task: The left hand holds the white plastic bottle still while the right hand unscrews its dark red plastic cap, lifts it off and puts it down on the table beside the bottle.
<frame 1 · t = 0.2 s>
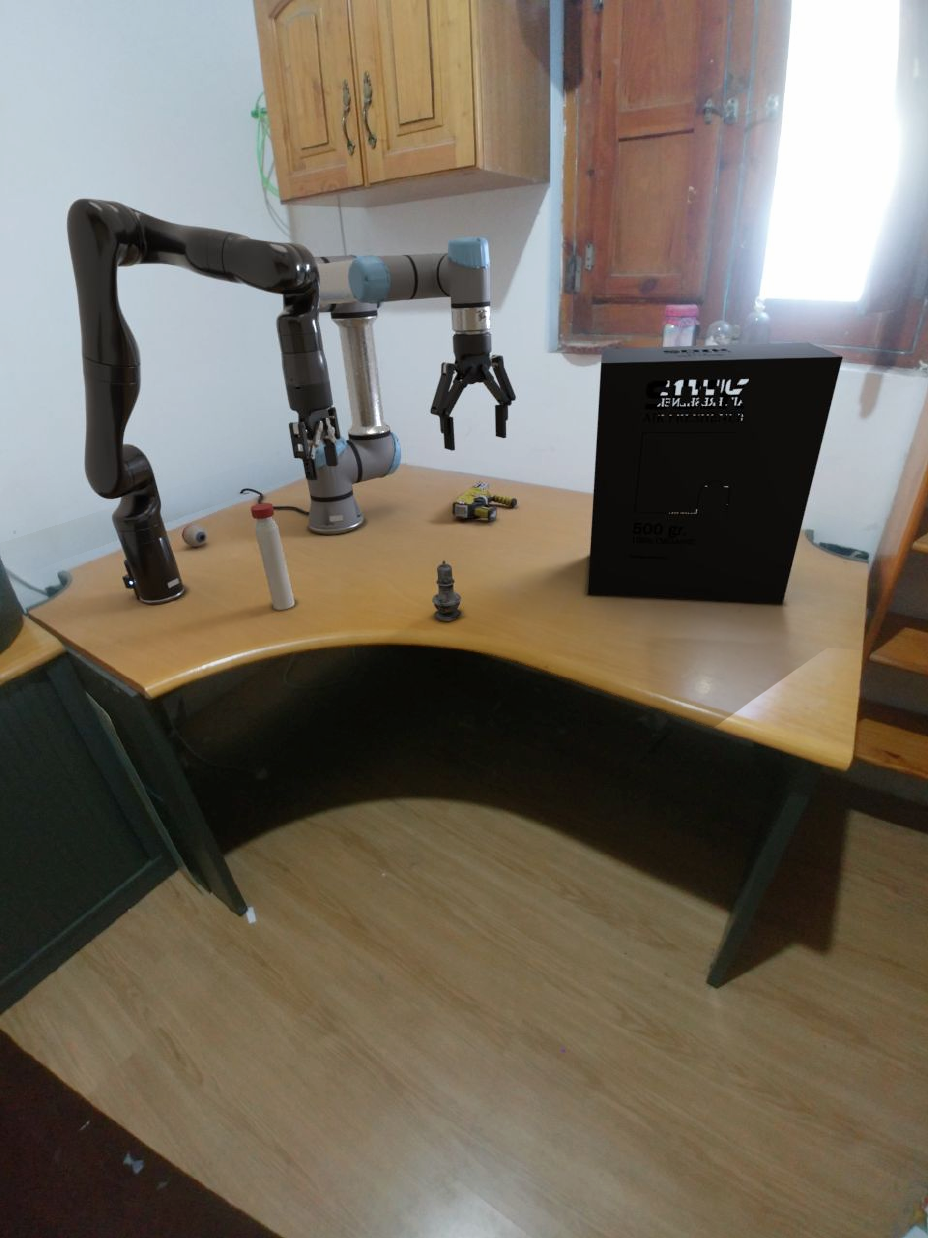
left hand: (322, 472, 111), 29 cm above the table, tool pointing down, fingers open, 8 cm apart
right hand: (476, 443, 127), 29 cm above the table, tool pointing down, fingers open, 13 cm apart
cap: (261, 507, 118), point 22 cm above the table, screwed on, not yet turned
cardboard box: (677, 578, 131), on the table
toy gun: (489, 508, 175), on the table
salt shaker: (447, 615, 122), on the table
bottle: (284, 605, 129), on the table
eyeball: (198, 546, 161), on the table
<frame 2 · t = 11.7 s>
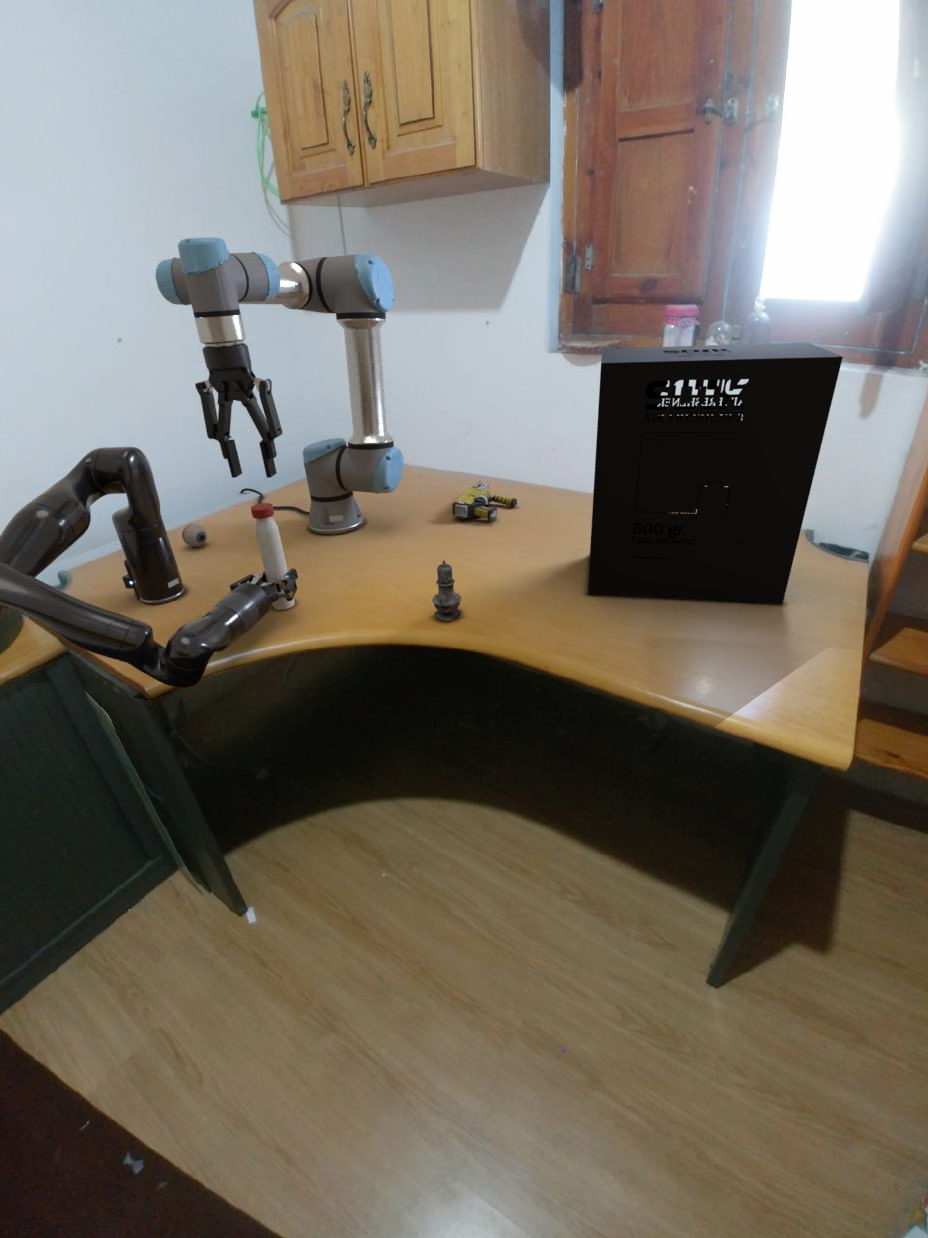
left hand: (284, 571, 128), 7 cm above the table, tool horizontal, fingers closed on bottle, 4 cm apart
right hand: (254, 475, 115), 28 cm above the table, tool pointing down, fingers open, 6 cm apart
bottle: (284, 605, 129), on the table, touching left hand
everything else where it was.
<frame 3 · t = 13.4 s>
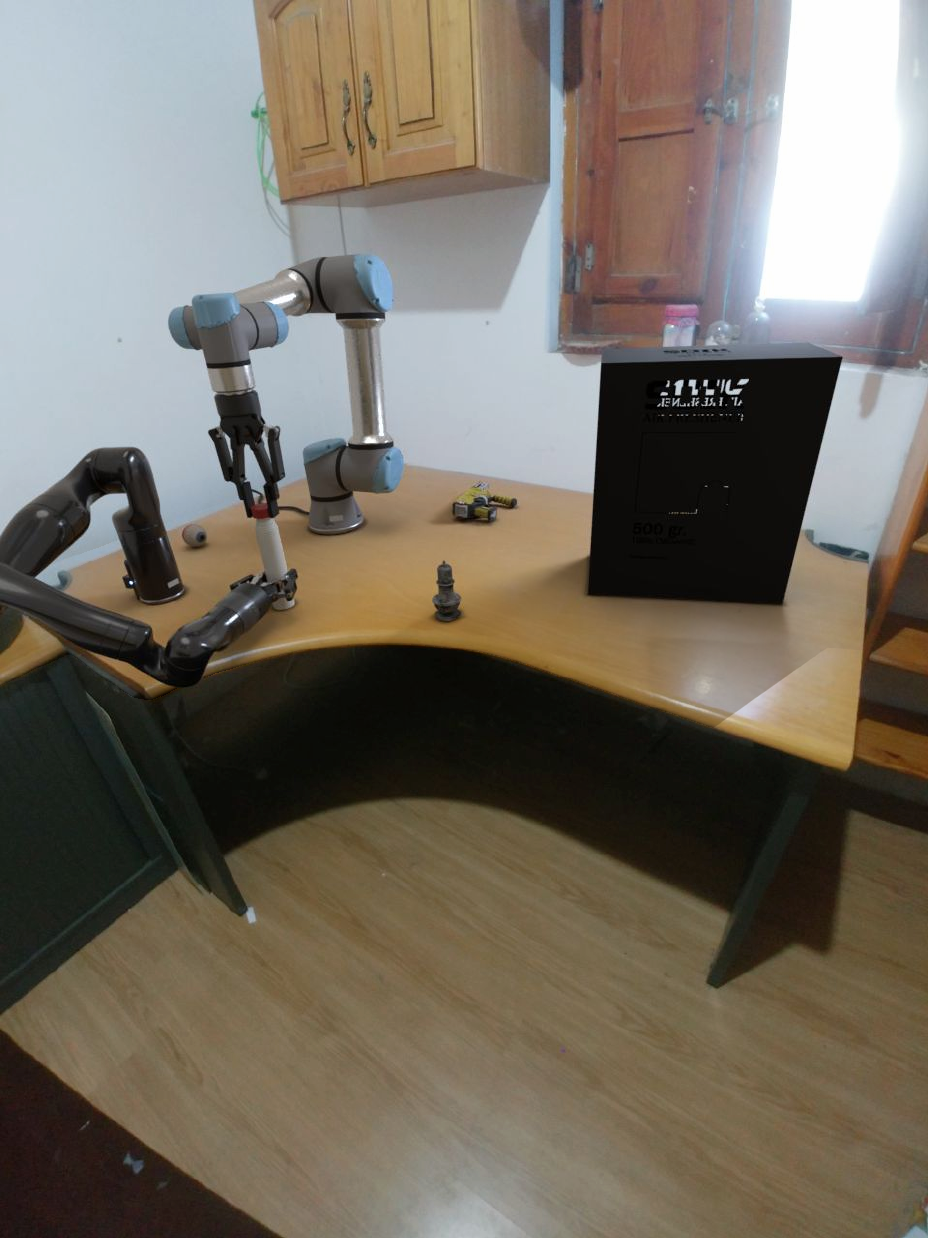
left hand: (284, 571, 128), 7 cm above the table, tool horizontal, fingers closed on bottle, 4 cm apart
right hand: (263, 515, 119), 20 cm above the table, tool pointing down, fingers closed on cap, 4 cm apart
cap: (261, 507, 118), point 22 cm above the table, screwed on, not yet turned, touching right hand
bottle: (284, 605, 129), on the table, touching left hand
everything else where it was.
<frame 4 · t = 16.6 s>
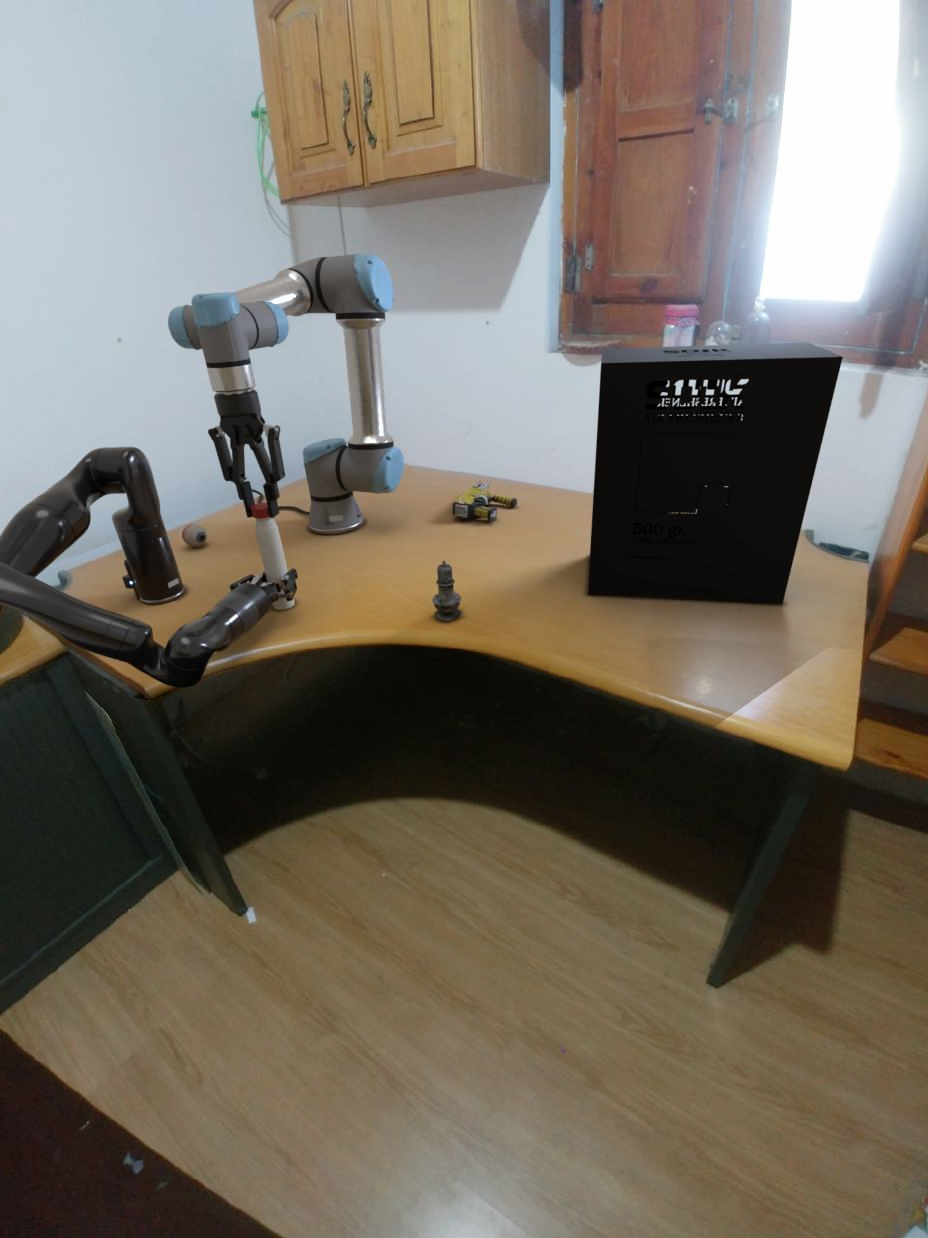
left hand: (284, 571, 128), 7 cm above the table, tool horizontal, fingers closed on bottle, 4 cm apart
right hand: (263, 514, 119), 20 cm above the table, tool pointing down, fingers closed on cap, 4 cm apart
cap: (261, 507, 118), point 22 cm above the table, turned 88° so far, risen 0.1 cm, still on its thread, touching right hand
bottle: (284, 605, 129), on the table, touching left hand
everything else where it was.
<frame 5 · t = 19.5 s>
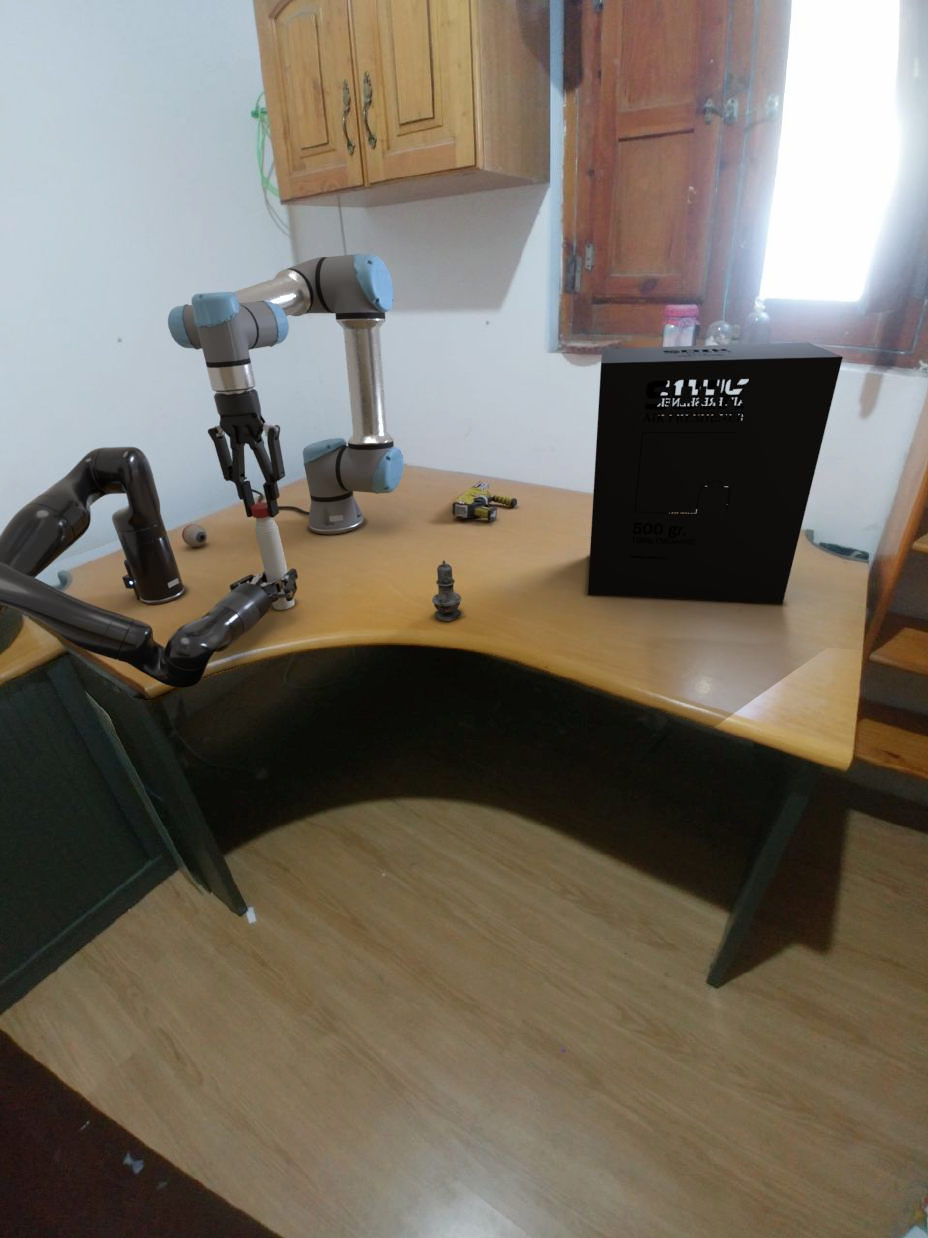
left hand: (284, 571, 128), 7 cm above the table, tool horizontal, fingers closed on bottle, 4 cm apart
right hand: (263, 514, 119), 20 cm above the table, tool pointing down, fingers closed on cap, 4 cm apart
cap: (261, 507, 118), point 22 cm above the table, turned 177° so far, risen 0.1 cm, still on its thread, touching right hand
bottle: (284, 605, 129), on the table, touching left hand
everything else where it was.
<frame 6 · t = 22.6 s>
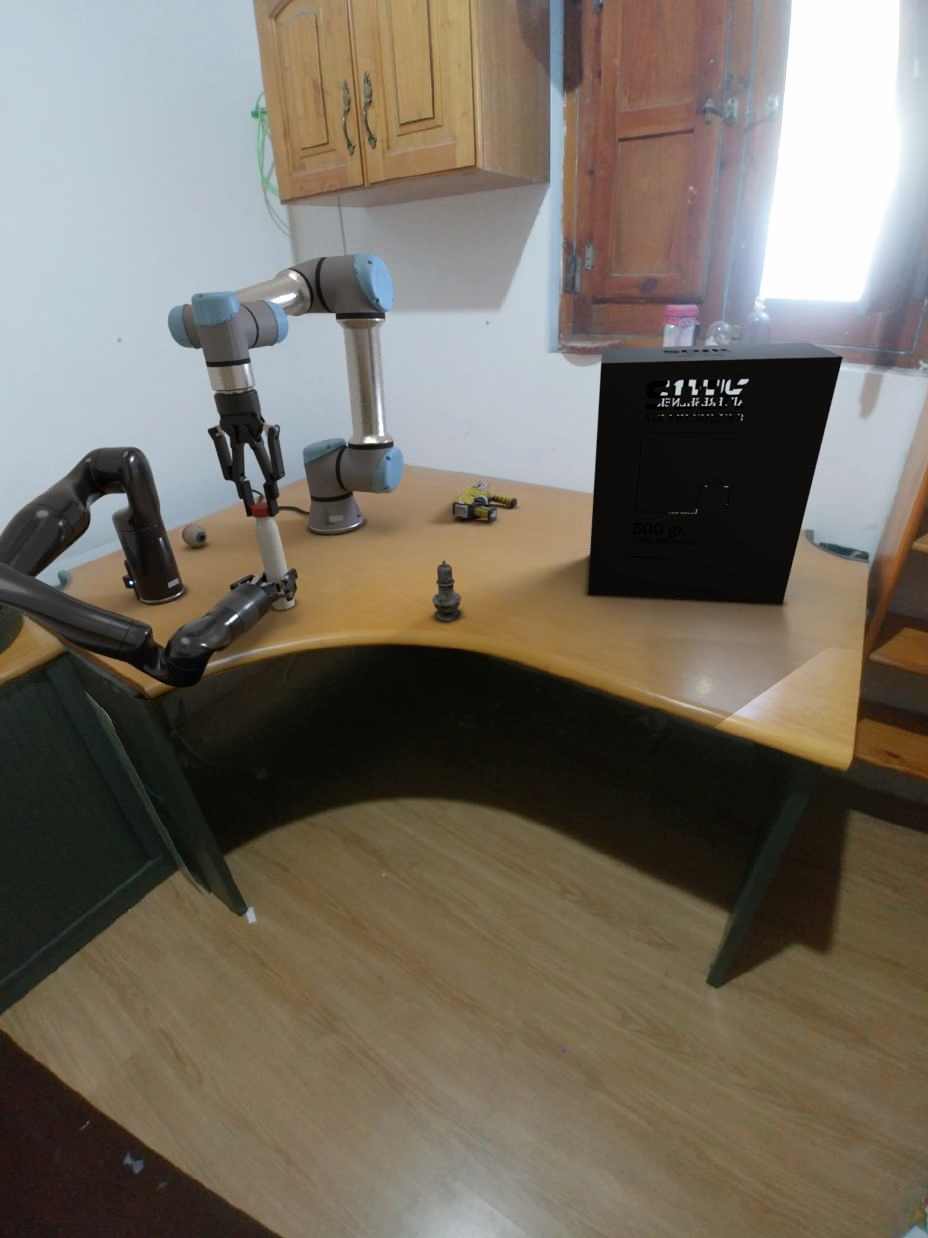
left hand: (284, 571, 128), 7 cm above the table, tool horizontal, fingers closed on bottle, 4 cm apart
right hand: (263, 514, 119), 21 cm above the table, tool pointing down, fingers closed on cap, 4 cm apart
cap: (261, 506, 118), point 22 cm above the table, turned 265° so far, risen 0.2 cm, still on its thread, touching right hand
bottle: (284, 605, 129), on the table, touching left hand
everything else where it was.
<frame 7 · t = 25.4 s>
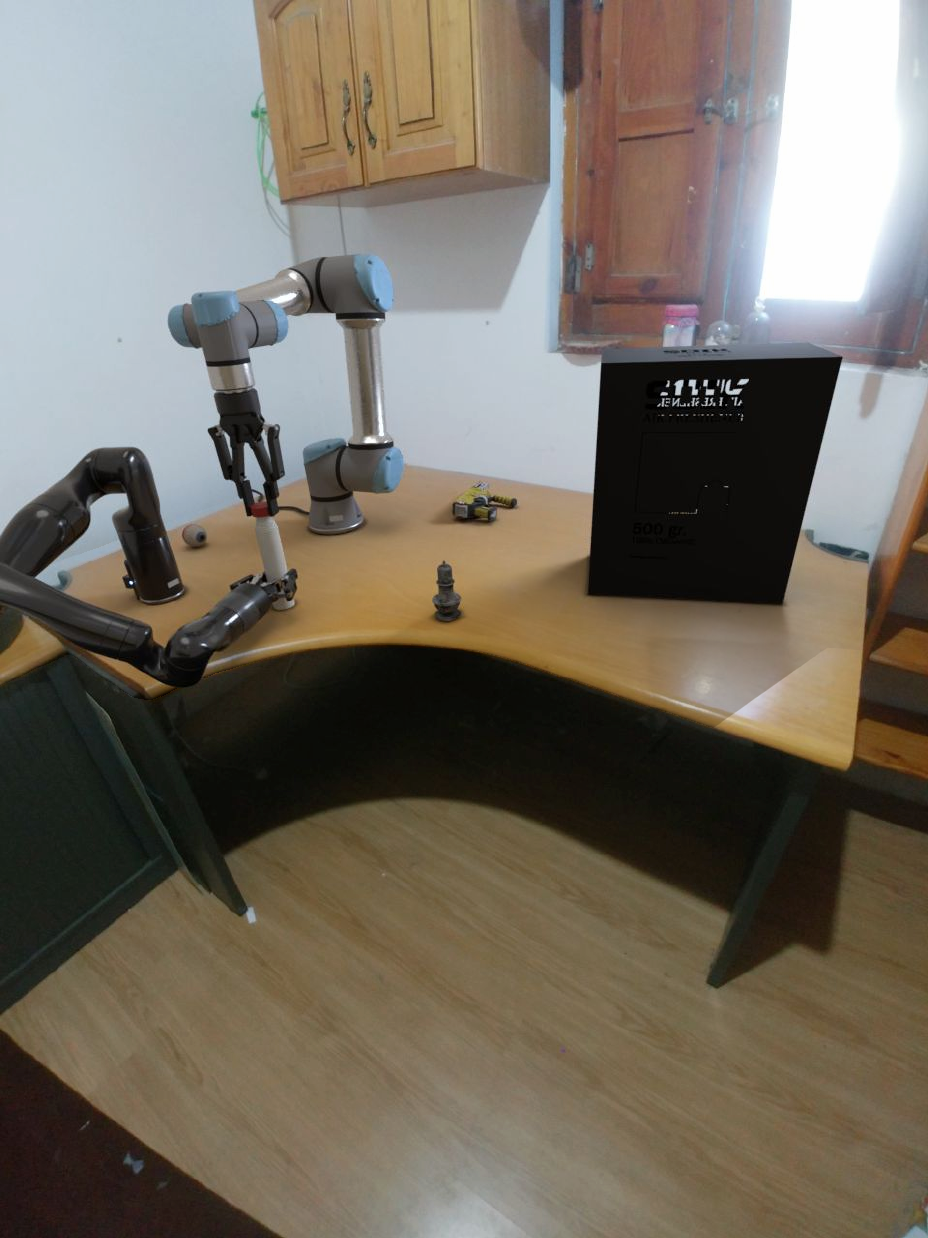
left hand: (284, 571, 128), 7 cm above the table, tool horizontal, fingers closed on bottle, 4 cm apart
right hand: (263, 513, 119), 21 cm above the table, tool pointing down, fingers closed on cap, 4 cm apart
cap: (261, 506, 118), point 22 cm above the table, turned 353° so far, risen 0.3 cm, still on its thread, touching right hand
bottle: (284, 605, 129), on the table, touching left hand
everything else where it was.
when the right hand's fingers open (1 cm above the table, at t = 31.9 s): cap stays where it is, point 2 cm above the table.
when the left hand's fingers open (7 cm above the table, at t = 33.1 s): bottle stays where it is, on the table.
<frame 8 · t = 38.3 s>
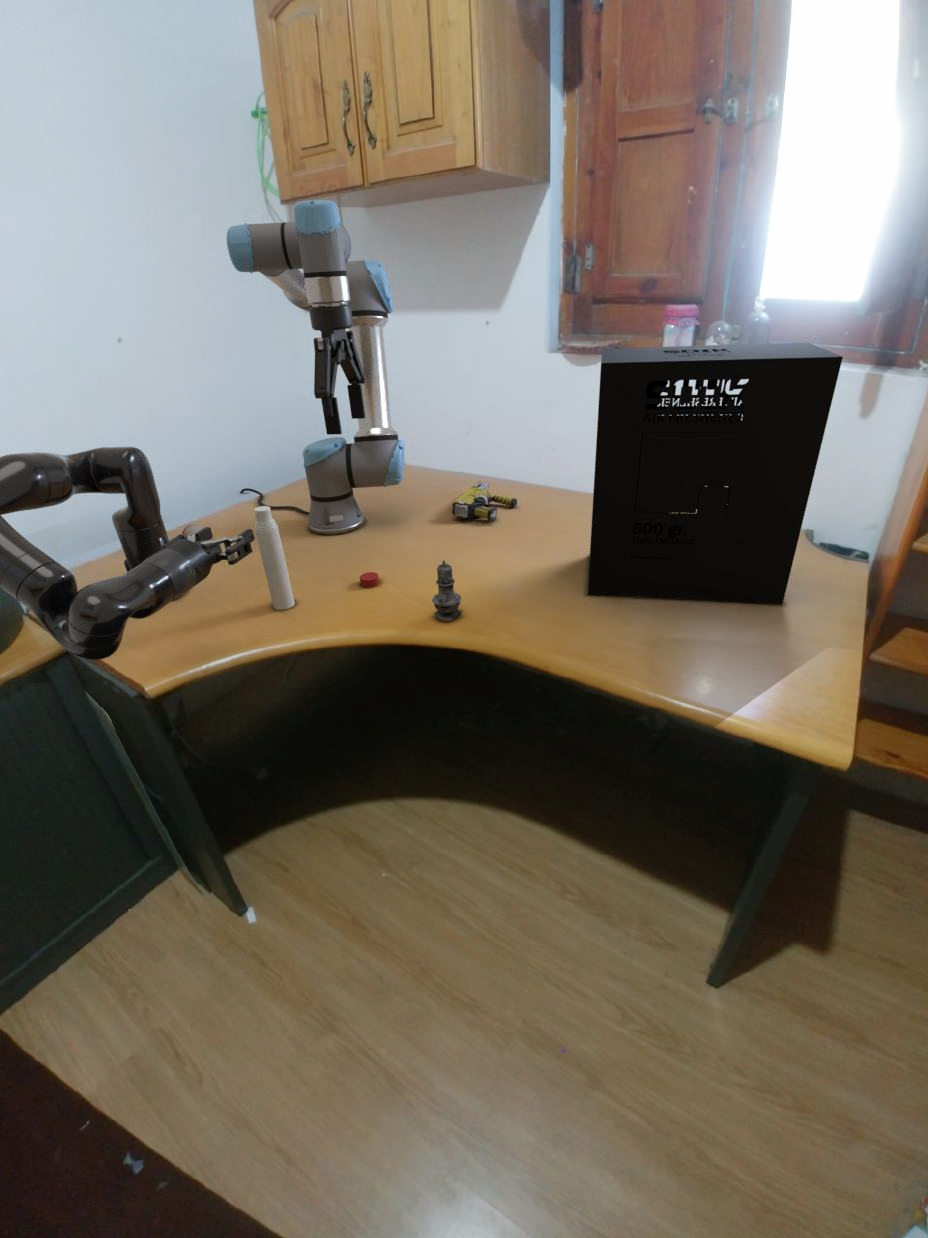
left hand: (230, 532, 109), 21 cm above the table, tool horizontal, fingers open, 8 cm apart
right hand: (347, 425, 119), 35 cm above the table, tool pointing down, fingers open, 13 cm apart
cap: (369, 577, 136), point 2 cm above the table, off its thread
bottle: (284, 605, 129), on the table
everything else where it was.
at the end: cap came off its thread; cap point 1.5 cm above the table; the left hand is holding nothing; the right hand is holding nothing; bottle tilted 0°; bottle moved 0.0 cm from its start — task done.
